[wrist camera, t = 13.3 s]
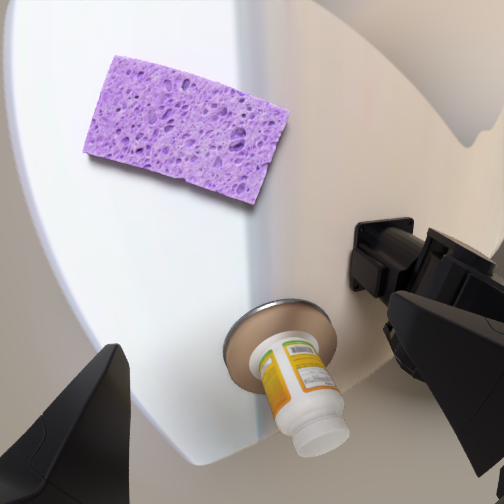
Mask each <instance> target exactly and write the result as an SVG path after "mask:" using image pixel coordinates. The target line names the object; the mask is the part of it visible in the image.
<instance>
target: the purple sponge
mask: <svg viewBox="0 0 504 504" xmlns="http://www.w3.org/2000/svg"><path fill="white" fill-rule="evenodd" d="M289 114H290V111H288V110H286V109H284V108H281V107H278V106H275V105H273V104H271V103H269V102H267V101H265V100H262V99H259V98H256V97H253V96H252V95H249V94H245V93H242V92H240V91H237V90H236V89H234V88H232V87H228V86H226V85H224V84H221V83H219V82H215V81H211V80H208V79H206V78H203V77H199V76H197V75H194V74H191V73H188V72H184V71H181V70H178V69H173V68H169V67H166V66H163V65H159V64H155V63H150V62H147V61H142V60H139V59H133V58H128V57H125V56H118V55H115V56H114V58H113V61H112V63H111V65H110V69H109V71H108V73H107V76H106V79H105V81H104V84H103V87H102V90H101V92H100V98H99V100H98V102H97V106H96V108H95V112H94V115H93V117H92V121H91V124H90V128H89V130H88V133H87V137H86V140H85V144H84V148H83V153H88V154H90V155H94V156H98V157H102V158H106V159H110V160H113V161H117V162H121V163H125V164H129V165H132V166H136V167H139V168H144V169H148V170H150V171H153V172H157V173H160V174H162V175H166V176H169V177H173V178H178V179H182V180H185V181H186V182H189V183H192V184H194V185H197V186H199V187H203V188H205V189H208V190H211V191H214V192H218V193H220V194H223V195H225V196H228V197H231V198H234V199H237V200H240V201H243V202H246V203H249V204H252V205H254V203H255V200H256V198H257V196H258V193H259V191H260V188H261V186H262V184H263V181H264V178H265V176H266V172H267V167H268V164H269V163H270V162H271V160H272V157H273V154H274V152H275V150H276V145H277V143H278V141H279V138H280V136H281V133H282V131H283V130H284V127H285V125H286V121H287V119H288V117H289Z"/></svg>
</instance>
